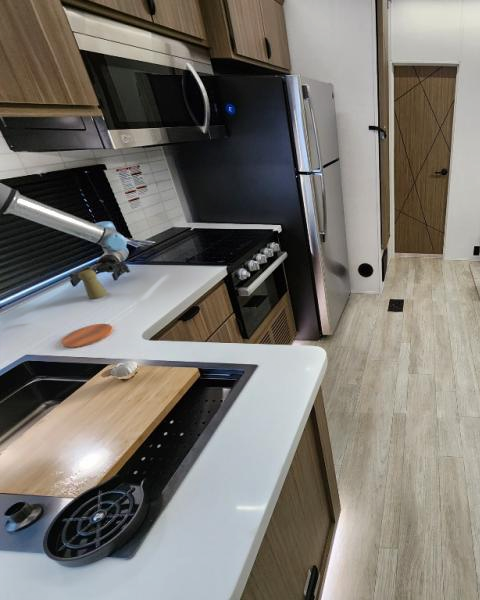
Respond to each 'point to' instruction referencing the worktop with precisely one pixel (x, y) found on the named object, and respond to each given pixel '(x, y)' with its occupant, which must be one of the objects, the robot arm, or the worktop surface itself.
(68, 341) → the coaster
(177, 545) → the worktop surface
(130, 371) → the garlic
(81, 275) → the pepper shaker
